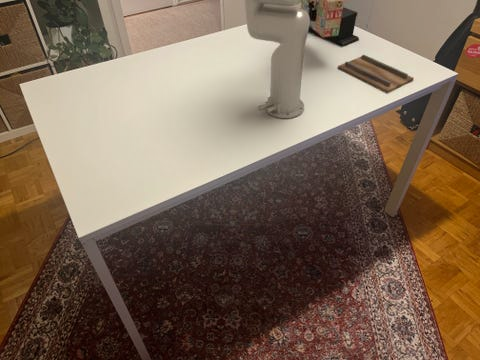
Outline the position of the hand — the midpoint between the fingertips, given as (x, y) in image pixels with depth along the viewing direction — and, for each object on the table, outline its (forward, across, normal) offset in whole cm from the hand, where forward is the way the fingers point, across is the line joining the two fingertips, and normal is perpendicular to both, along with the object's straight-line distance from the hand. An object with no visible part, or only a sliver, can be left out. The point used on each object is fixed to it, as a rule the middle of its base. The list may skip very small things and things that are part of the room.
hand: (320, 17), depth 136 cm
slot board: (+15, +7, -23) cm, 29 cm away
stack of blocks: (+4, 0, +1) cm, 4 cm away
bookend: (+15, +20, +12) cm, 27 cm away
